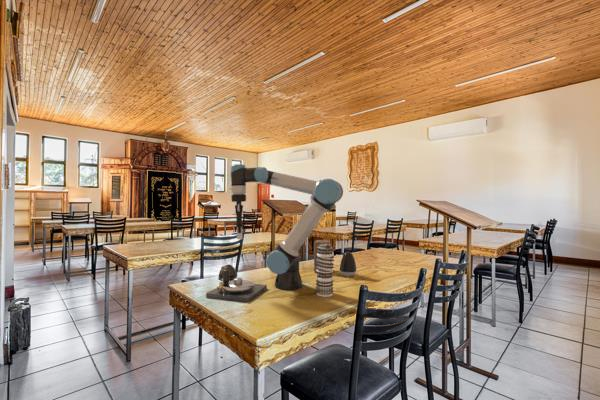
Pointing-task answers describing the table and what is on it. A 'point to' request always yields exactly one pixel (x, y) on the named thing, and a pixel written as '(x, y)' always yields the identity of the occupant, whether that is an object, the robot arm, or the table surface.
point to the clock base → (236, 293)
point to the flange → (235, 283)
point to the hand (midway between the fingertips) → (239, 238)
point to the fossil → (232, 272)
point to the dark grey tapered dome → (348, 264)
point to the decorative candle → (324, 270)
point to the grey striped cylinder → (317, 249)
